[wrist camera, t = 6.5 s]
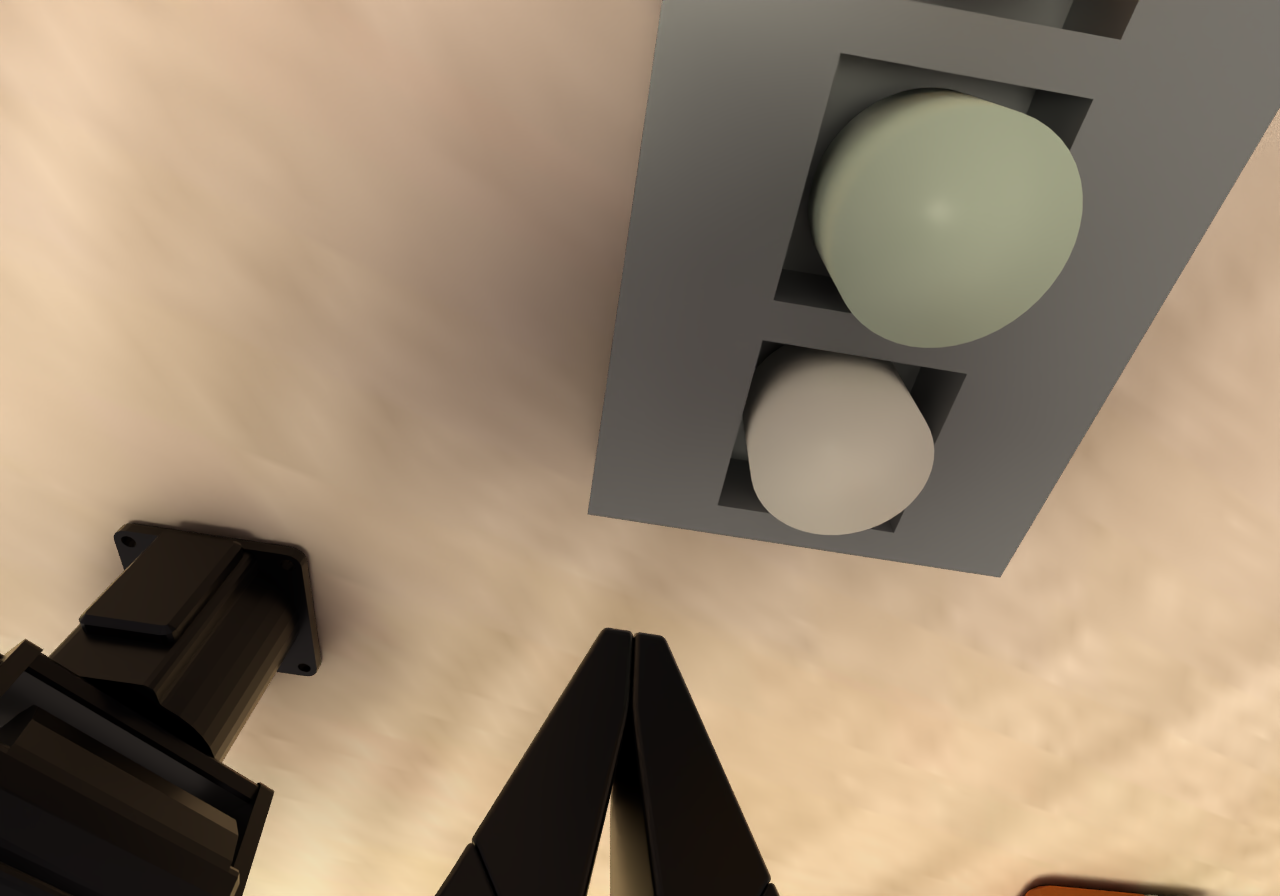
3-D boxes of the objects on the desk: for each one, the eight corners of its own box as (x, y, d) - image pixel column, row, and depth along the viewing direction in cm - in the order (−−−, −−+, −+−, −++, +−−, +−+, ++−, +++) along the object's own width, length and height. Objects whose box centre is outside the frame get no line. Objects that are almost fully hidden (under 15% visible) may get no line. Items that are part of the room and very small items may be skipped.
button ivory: (870, 480, 21) (896, 546, 18) (726, 457, 21) (733, 521, 18) (925, 347, 19) (964, 402, 16) (763, 320, 18) (776, 372, 16)
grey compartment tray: (964, 513, 23) (1000, 577, 20) (598, 455, 22) (587, 514, 20) (1399, -321, 12) (1582, -403, 10) (733, -463, 12) (746, -587, 9)
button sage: (965, 308, 17) (1016, 364, 14) (785, 278, 17) (803, 328, 14) (1052, 108, 14) (1131, 131, 12) (843, 69, 14) (878, 84, 12)
